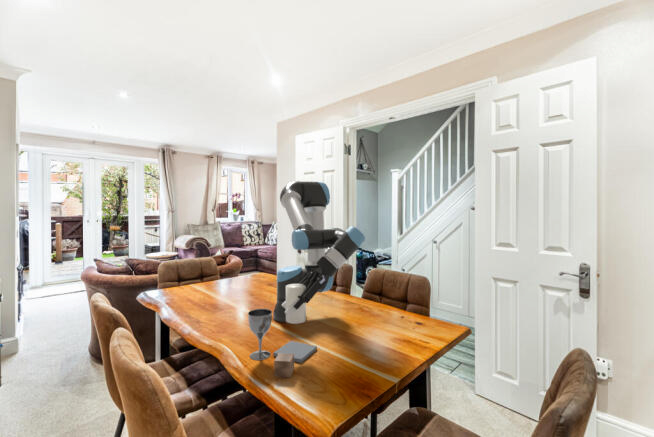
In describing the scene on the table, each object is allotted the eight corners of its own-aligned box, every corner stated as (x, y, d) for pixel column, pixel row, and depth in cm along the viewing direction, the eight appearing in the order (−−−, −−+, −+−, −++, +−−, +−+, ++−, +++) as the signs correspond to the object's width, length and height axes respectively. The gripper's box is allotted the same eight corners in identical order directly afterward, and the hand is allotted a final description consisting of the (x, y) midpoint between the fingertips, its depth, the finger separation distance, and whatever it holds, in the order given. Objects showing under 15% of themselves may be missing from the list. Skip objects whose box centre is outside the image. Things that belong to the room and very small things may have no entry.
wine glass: (250, 350, 110) (250, 308, 110) (272, 349, 111) (272, 308, 110) (246, 361, 102) (246, 316, 102) (270, 360, 103) (270, 315, 103)
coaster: (273, 356, 106) (273, 352, 106) (290, 343, 116) (290, 340, 116) (301, 363, 101) (301, 359, 101) (316, 349, 111) (316, 346, 111)
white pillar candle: (281, 321, 107) (281, 287, 106) (292, 315, 113) (292, 282, 112) (299, 325, 104) (299, 289, 103) (309, 318, 110) (309, 284, 109)
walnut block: (274, 377, 93) (274, 360, 93) (278, 368, 98) (278, 353, 98) (290, 378, 92) (290, 361, 92) (294, 369, 97) (294, 353, 97)
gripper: (316, 251, 120) (274, 296, 116) (331, 260, 101) (282, 313, 97) (329, 264, 121) (288, 308, 117) (347, 275, 102) (298, 328, 98)
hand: (285, 311), depth 107 cm, fingers closed on white pillar candle, 7 cm apart
